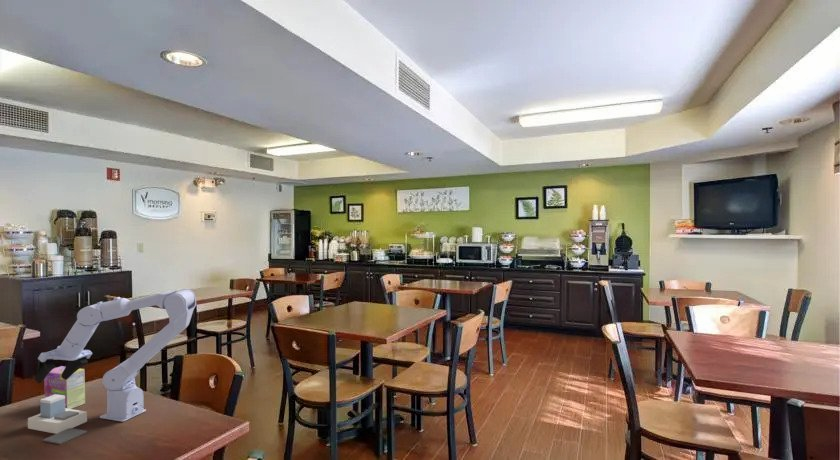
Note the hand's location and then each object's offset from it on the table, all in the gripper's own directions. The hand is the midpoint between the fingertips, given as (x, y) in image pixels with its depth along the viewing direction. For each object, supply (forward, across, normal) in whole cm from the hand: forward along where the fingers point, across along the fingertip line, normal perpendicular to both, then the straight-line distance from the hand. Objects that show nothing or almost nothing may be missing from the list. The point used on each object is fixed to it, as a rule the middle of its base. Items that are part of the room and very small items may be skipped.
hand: (51, 379), depth 129 cm
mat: (+5, +4, +20) cm, 21 cm away
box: (+12, -11, -1) cm, 16 cm away
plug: (+9, 0, +9) cm, 13 cm away
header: (+8, 0, +11) cm, 14 cm away
